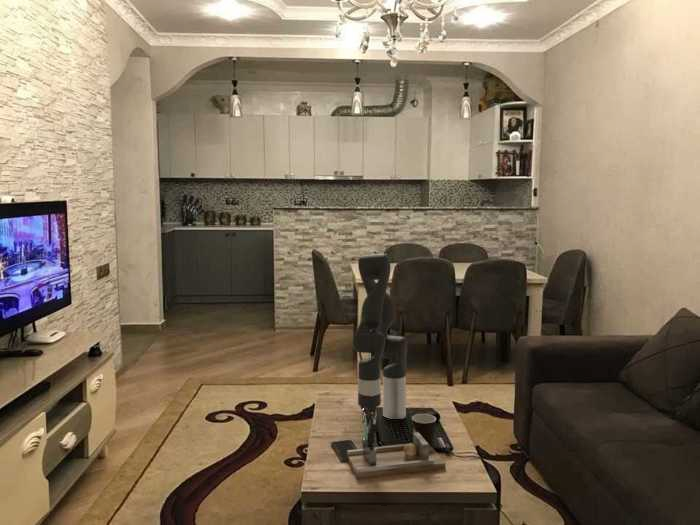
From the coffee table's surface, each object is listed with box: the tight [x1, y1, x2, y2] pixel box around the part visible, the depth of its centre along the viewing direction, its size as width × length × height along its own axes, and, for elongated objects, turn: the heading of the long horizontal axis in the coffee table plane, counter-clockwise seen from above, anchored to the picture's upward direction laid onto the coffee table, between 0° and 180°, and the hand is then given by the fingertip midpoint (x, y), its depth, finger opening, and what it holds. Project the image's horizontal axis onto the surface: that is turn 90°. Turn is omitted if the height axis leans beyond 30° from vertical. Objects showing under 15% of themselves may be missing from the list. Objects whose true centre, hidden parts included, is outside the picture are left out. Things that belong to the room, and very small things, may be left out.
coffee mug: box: [411, 413, 437, 445], centre depth 217 cm, size 12×9×10 cm
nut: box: [404, 442, 417, 459], centre depth 202 cm, size 4×4×4 cm
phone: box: [330, 439, 358, 463], centre depth 211 cm, size 8×1×15 cm
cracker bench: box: [347, 432, 446, 480], centre depth 201 cm, size 15×30×8 cm, turn 103°
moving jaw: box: [362, 422, 376, 466], centre depth 198 cm, size 10×3×13 cm, turn 13°
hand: (369, 440), depth 198 cm, fingers closed on moving jaw, 3 cm apart
